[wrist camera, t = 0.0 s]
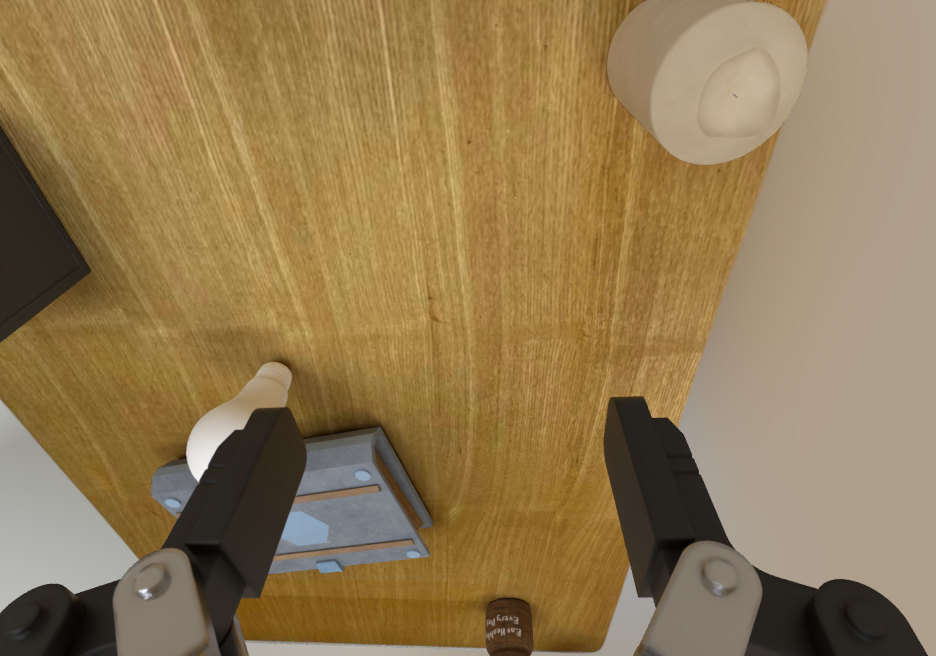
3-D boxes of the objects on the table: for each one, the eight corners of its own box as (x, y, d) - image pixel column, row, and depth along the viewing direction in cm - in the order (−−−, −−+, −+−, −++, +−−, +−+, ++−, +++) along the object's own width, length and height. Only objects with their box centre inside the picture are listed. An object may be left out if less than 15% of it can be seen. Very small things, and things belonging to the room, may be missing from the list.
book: (377, 416, 42) (366, 463, 38) (434, 520, 51) (430, 567, 47) (169, 451, 45) (138, 498, 41) (258, 541, 55) (240, 587, 51)
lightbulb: (278, 403, 41) (222, 523, 32) (223, 356, 38) (145, 473, 29) (333, 378, 39) (290, 498, 30) (280, 325, 36) (215, 442, 27)
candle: (736, 59, 25) (856, 104, 17) (640, 134, 27) (706, 206, 19) (683, -40, 22) (793, -42, 14) (584, 52, 25) (631, 95, 17)
